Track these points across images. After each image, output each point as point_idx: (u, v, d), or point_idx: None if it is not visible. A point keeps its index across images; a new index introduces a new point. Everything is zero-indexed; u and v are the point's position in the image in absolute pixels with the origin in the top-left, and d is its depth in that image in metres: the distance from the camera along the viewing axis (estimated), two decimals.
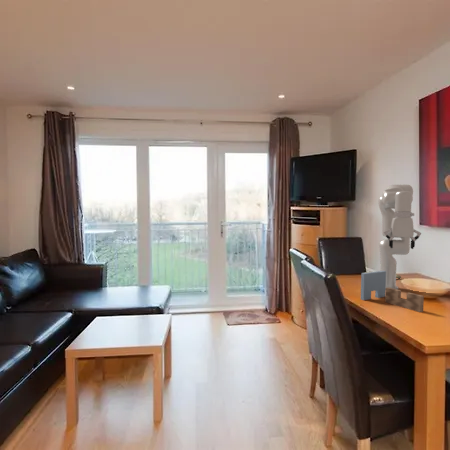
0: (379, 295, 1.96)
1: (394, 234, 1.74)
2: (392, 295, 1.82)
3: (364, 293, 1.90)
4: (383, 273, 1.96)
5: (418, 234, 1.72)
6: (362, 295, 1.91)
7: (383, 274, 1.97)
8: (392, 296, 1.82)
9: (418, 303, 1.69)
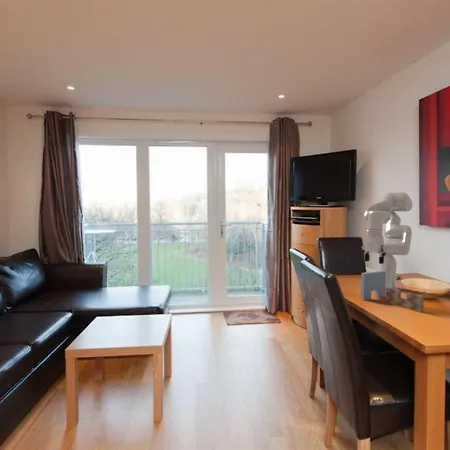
0: (379, 295, 1.96)
1: None
2: (392, 295, 1.82)
3: (364, 293, 1.90)
4: (383, 273, 1.96)
5: None
6: (362, 295, 1.91)
7: (383, 274, 1.97)
8: (392, 296, 1.82)
9: (418, 303, 1.69)
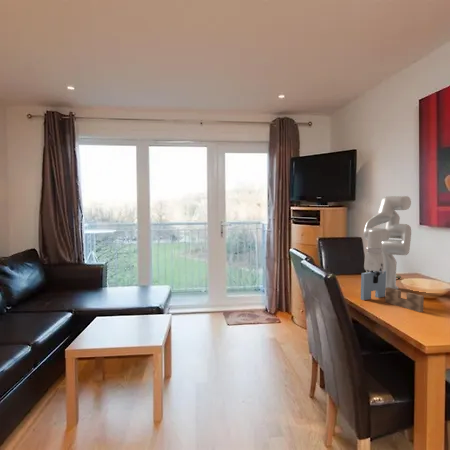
0: (379, 295, 1.96)
1: None
2: (392, 295, 1.82)
3: (364, 293, 1.90)
4: (383, 273, 1.96)
5: None
6: (362, 295, 1.91)
7: (383, 274, 1.97)
8: (392, 296, 1.82)
9: (418, 303, 1.69)
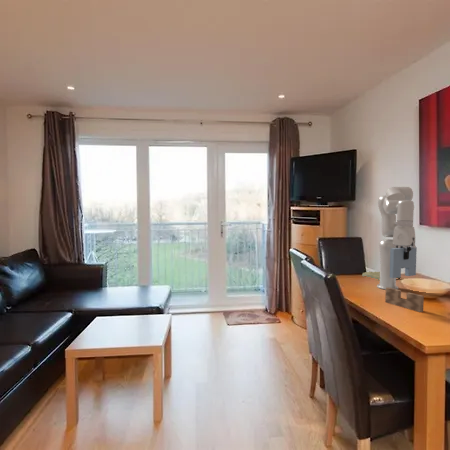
0: (409, 273, 1.78)
1: None
2: (392, 295, 1.82)
3: (393, 270, 1.73)
4: (413, 249, 1.79)
5: None
6: (391, 273, 1.73)
7: (414, 251, 1.79)
8: (392, 296, 1.82)
9: (418, 303, 1.69)
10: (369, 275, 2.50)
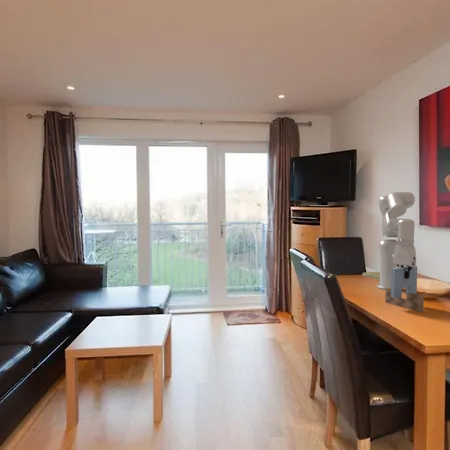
0: (410, 292, 1.78)
1: None
2: None
3: (395, 290, 1.73)
4: (414, 268, 1.79)
5: None
6: (392, 292, 1.73)
7: (415, 270, 1.79)
8: None
9: (418, 303, 1.69)
10: (369, 275, 2.50)
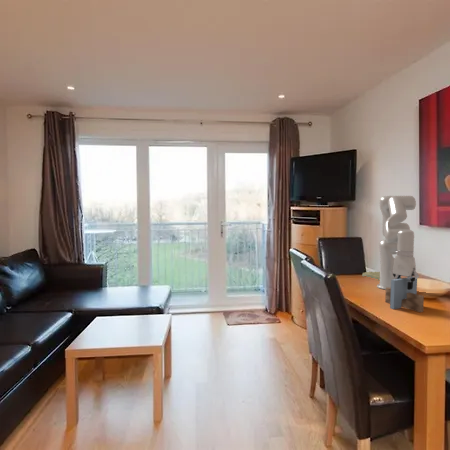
0: None
1: None
2: None
3: (394, 301, 1.73)
4: None
5: None
6: (392, 304, 1.74)
7: (414, 281, 1.80)
8: None
9: (418, 303, 1.69)
10: (369, 275, 2.50)
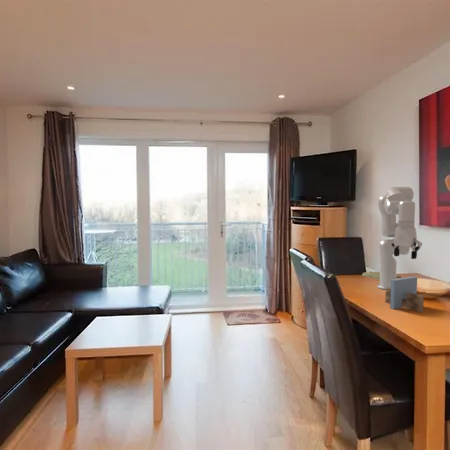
0: None
1: None
2: None
3: (394, 301, 1.73)
4: (414, 279, 1.79)
5: None
6: (392, 304, 1.74)
7: (414, 281, 1.80)
8: None
9: (418, 303, 1.69)
10: (369, 275, 2.50)
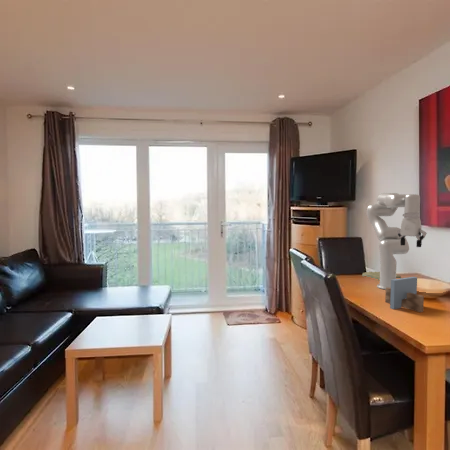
0: None
1: None
2: None
3: (394, 301, 1.73)
4: (414, 279, 1.79)
5: None
6: (392, 304, 1.74)
7: (414, 281, 1.80)
8: None
9: (418, 303, 1.69)
10: (369, 275, 2.50)
